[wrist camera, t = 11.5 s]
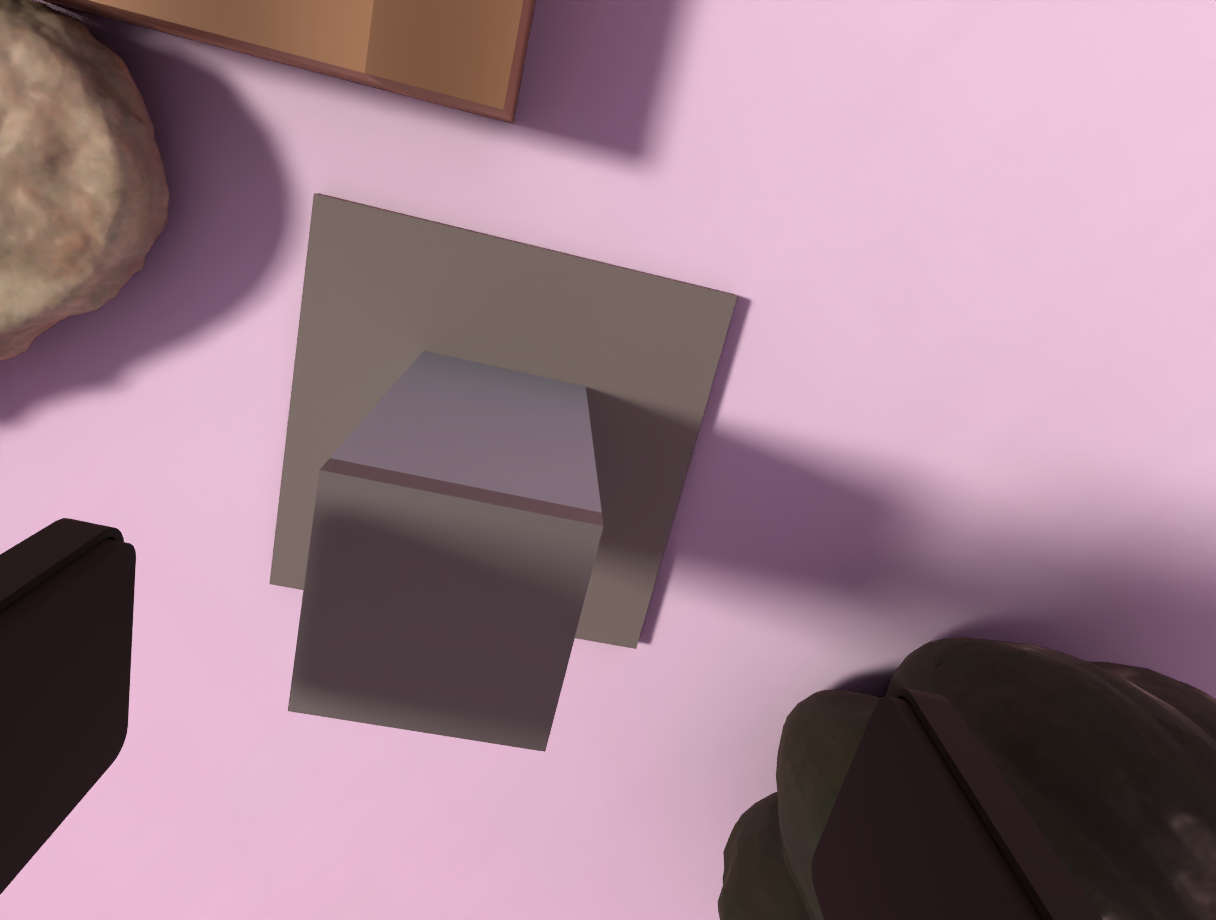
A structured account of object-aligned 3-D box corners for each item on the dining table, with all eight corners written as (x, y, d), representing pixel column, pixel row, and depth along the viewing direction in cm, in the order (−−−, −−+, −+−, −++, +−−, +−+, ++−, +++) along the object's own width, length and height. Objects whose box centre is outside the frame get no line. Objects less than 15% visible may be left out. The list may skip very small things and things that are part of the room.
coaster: (733, 294, 19) (737, 296, 19) (634, 640, 22) (636, 648, 22) (319, 193, 18) (313, 193, 17) (274, 576, 21) (269, 584, 20)
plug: (585, 386, 19) (603, 526, 11) (551, 531, 20) (544, 752, 12) (424, 350, 19) (319, 469, 11) (398, 501, 20) (287, 711, 12)
